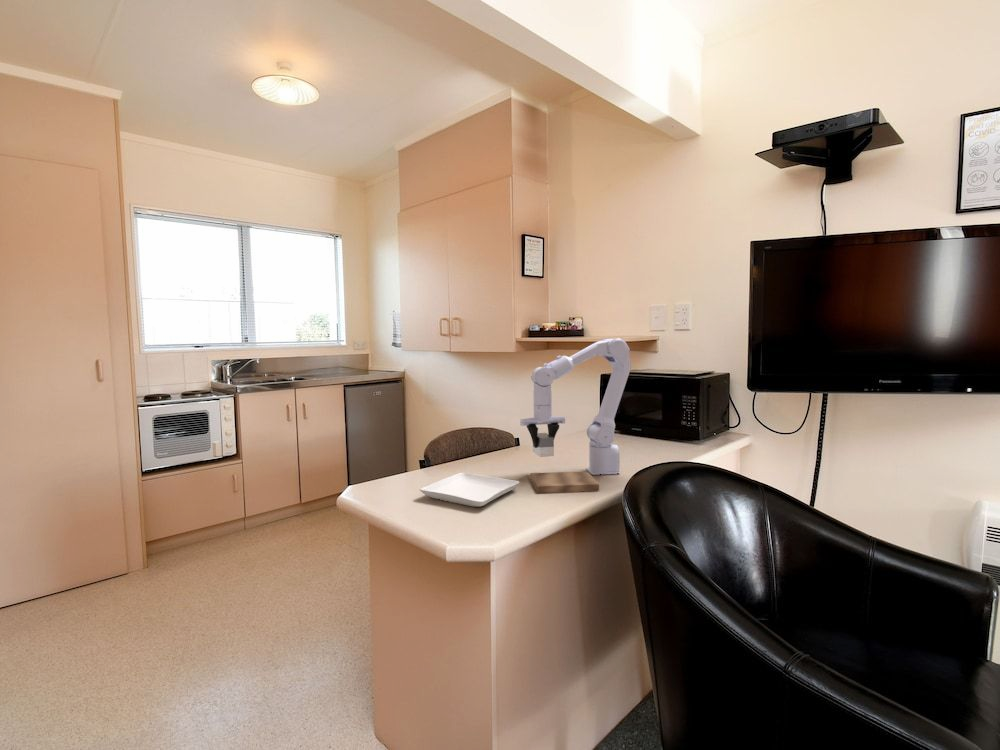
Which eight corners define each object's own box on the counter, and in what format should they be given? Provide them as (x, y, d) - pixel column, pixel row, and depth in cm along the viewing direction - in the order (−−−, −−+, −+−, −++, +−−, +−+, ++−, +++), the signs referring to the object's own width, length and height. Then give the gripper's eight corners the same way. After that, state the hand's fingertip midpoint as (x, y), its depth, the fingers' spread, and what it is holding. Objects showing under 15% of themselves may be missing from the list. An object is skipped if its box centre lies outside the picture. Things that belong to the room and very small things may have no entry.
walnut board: (587, 477, 157) (587, 471, 157) (599, 490, 143) (599, 484, 143) (530, 479, 156) (530, 473, 156) (537, 493, 142) (537, 486, 142)
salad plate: (521, 491, 145) (521, 479, 145) (482, 513, 127) (481, 500, 127) (461, 481, 156) (461, 470, 156) (417, 501, 138) (417, 489, 137)
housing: (545, 450, 164) (545, 432, 164) (553, 456, 157) (553, 437, 156) (532, 451, 163) (532, 433, 163) (540, 457, 156) (540, 438, 155)
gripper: (559, 402, 164) (560, 442, 165) (517, 404, 161) (518, 445, 162) (567, 404, 157) (567, 447, 158) (523, 407, 154) (524, 450, 155)
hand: (543, 446), depth 160 cm, fingers closed on housing, 4 cm apart
